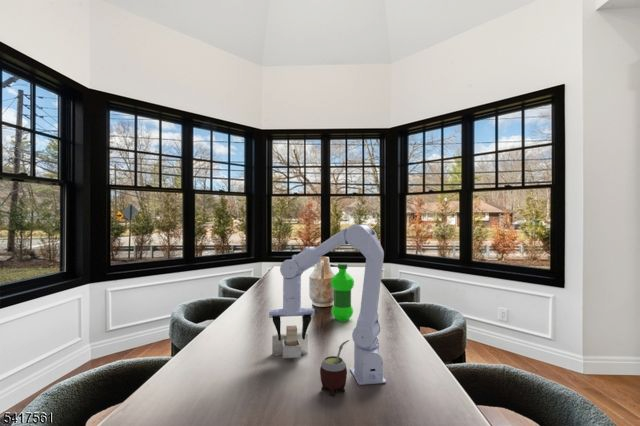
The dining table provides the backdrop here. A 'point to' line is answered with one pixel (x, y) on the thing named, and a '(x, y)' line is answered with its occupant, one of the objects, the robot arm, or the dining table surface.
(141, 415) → the dining table surface
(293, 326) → the rail end
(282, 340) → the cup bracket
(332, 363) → the mate gourd
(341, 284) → the plastic bottle
